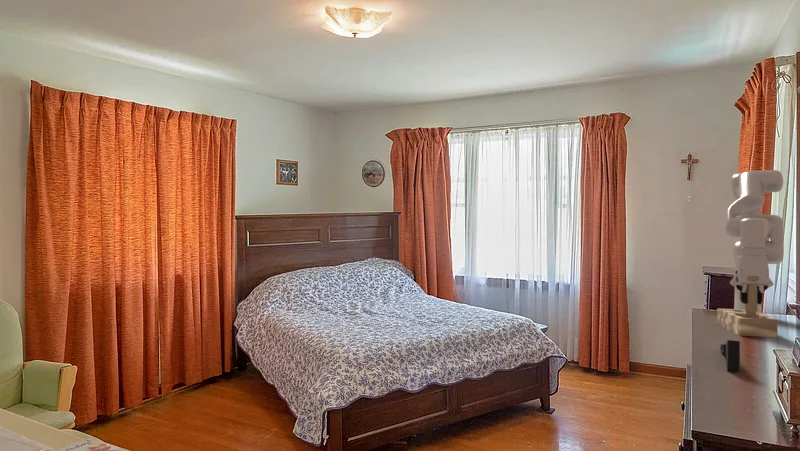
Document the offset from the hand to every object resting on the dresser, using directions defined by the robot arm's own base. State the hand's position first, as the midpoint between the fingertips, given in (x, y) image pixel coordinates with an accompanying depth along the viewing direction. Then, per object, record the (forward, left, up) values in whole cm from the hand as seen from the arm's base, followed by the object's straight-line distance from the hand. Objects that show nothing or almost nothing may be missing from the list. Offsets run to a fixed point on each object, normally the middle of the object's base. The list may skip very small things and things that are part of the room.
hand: (751, 302), depth 196 cm
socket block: (-4, 0, -11) cm, 11 cm away
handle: (0, 0, -5) cm, 5 cm away
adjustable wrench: (+43, -24, -11) cm, 50 cm away
